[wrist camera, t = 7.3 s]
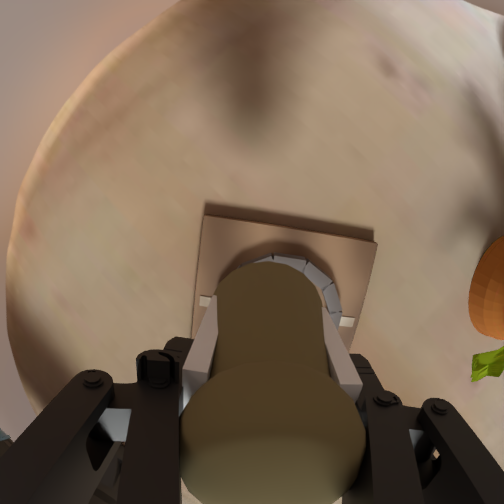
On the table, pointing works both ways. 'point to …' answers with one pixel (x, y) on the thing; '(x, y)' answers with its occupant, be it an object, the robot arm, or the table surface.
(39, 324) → the table surface
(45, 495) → the robot arm
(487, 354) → the decorative plant
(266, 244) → the socket board
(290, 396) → the olive round stacked cylinder
